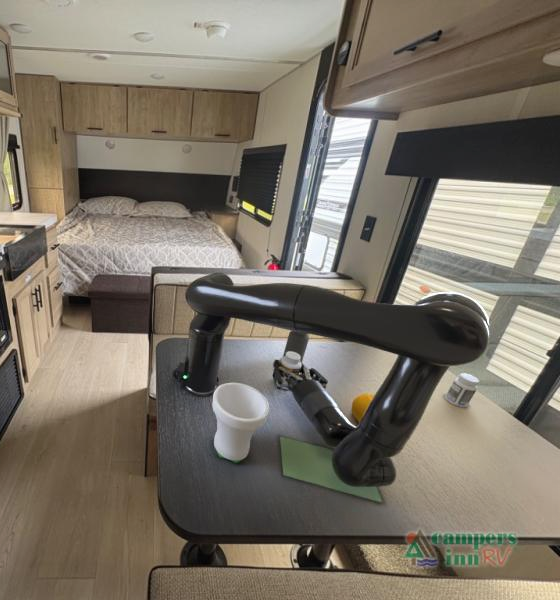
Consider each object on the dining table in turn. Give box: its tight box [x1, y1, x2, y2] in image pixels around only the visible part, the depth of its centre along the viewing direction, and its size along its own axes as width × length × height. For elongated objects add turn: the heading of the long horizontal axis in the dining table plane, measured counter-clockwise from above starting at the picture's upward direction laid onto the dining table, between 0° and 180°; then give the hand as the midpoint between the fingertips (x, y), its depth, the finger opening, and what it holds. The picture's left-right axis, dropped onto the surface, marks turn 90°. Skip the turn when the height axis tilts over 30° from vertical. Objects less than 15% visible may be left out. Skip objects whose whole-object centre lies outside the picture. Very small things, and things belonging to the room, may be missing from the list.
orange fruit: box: [351, 393, 375, 423], centre depth 76 cm, size 8×8×8 cm
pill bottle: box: [445, 372, 480, 408], centre depth 84 cm, size 5×5×8 cm
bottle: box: [282, 330, 310, 363], centre depth 96 cm, size 6×6×15 cm
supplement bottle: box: [279, 351, 303, 390], centre depth 87 cm, size 6×6×10 cm
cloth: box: [279, 436, 383, 504], centre depth 64 cm, size 18×10×1 cm, turn 74°
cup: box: [212, 382, 270, 464], centre depth 64 cm, size 11×11×14 cm
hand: (285, 362), depth 89 cm, fingers closed on supplement bottle, 5 cm apart
